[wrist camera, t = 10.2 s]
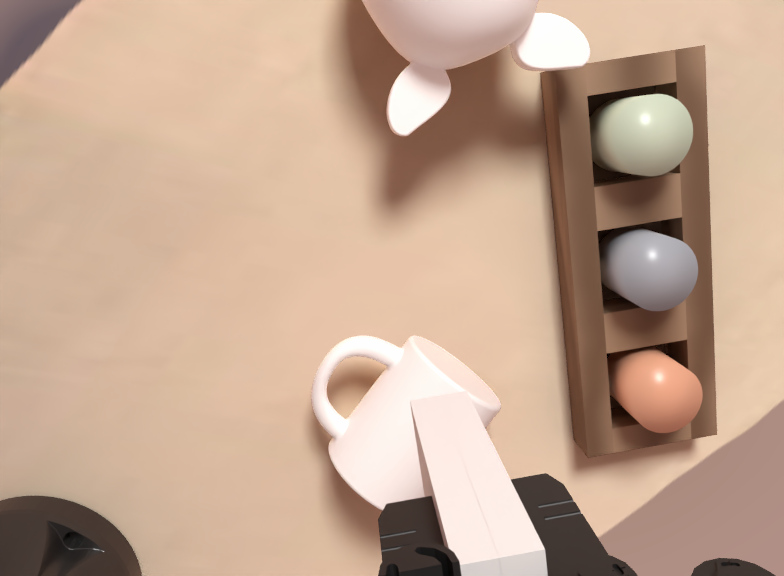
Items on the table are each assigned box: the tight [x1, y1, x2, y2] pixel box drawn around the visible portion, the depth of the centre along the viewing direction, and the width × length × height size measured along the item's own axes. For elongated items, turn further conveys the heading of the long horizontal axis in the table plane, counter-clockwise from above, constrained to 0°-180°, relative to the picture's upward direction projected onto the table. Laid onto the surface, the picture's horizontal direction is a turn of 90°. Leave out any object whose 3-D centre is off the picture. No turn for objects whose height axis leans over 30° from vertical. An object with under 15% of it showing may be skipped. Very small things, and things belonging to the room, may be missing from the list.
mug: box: [311, 336, 501, 511], centre depth 45 cm, size 12×10×8 cm
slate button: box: [599, 226, 698, 311], centre depth 45 cm, size 5×5×5 cm
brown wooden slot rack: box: [541, 45, 717, 458], centre depth 46 cm, size 10×28×3 cm, turn 9°
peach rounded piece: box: [607, 346, 703, 433], centre depth 47 cm, size 5×5×5 cm
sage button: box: [589, 94, 693, 176], centre depth 43 cm, size 5×5×5 cm
